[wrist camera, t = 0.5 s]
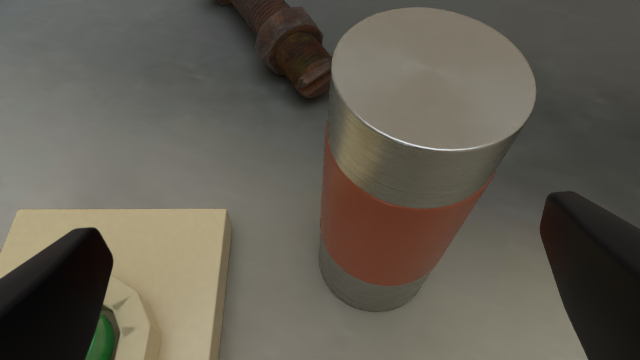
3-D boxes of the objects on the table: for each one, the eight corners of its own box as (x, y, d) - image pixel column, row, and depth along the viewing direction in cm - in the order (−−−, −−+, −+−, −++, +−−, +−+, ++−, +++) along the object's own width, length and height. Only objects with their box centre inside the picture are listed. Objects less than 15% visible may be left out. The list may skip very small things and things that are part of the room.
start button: (40, 307, 19) (15, 292, 17) (123, 306, 19) (107, 291, 18) (9, 398, 17) (-22, 391, 16) (103, 397, 17) (82, 390, 16)
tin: (434, 312, 23) (568, 152, 11) (319, 313, 23) (332, 152, 11) (418, 210, 26) (508, 6, 15) (317, 211, 26) (326, 4, 14)
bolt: (311, 124, 32) (225, 5, 39) (365, 78, 31) (268, -35, 38) (272, 90, 27) (180, -40, 33) (335, 34, 26) (229, -88, 33)
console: (39, 227, 25) (-3, 190, 22) (232, 227, 25) (221, 190, 22) (-43, 447, 19) (-116, 443, 16) (210, 442, 20) (190, 437, 16)
